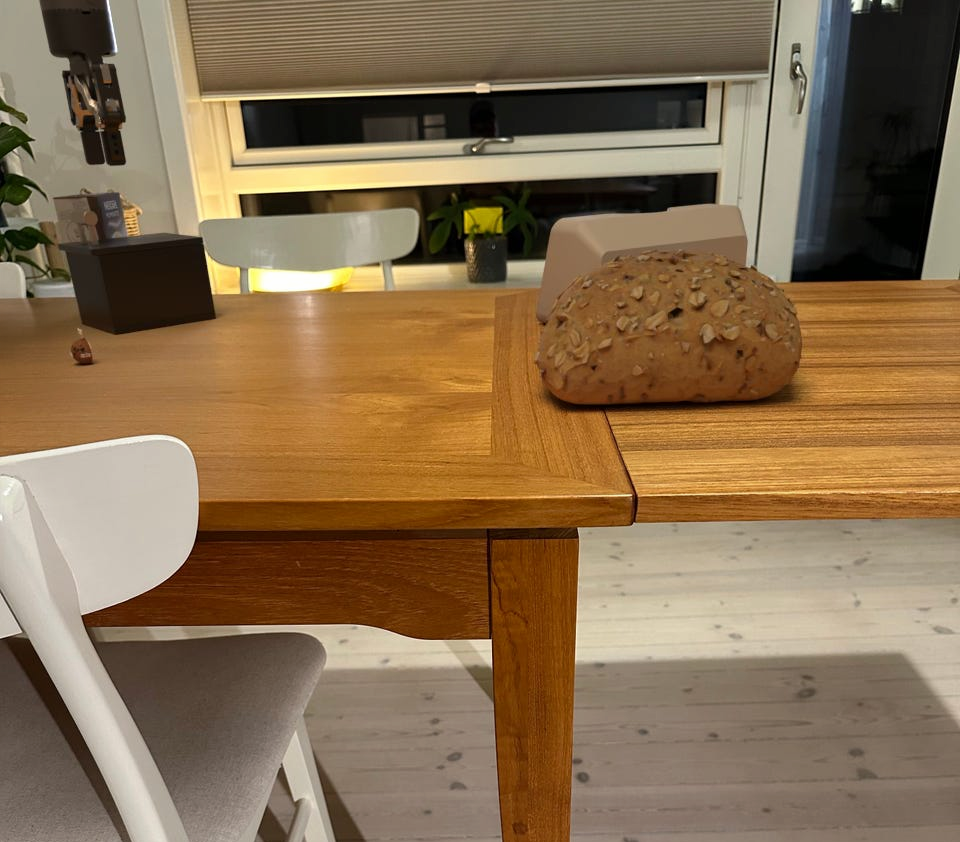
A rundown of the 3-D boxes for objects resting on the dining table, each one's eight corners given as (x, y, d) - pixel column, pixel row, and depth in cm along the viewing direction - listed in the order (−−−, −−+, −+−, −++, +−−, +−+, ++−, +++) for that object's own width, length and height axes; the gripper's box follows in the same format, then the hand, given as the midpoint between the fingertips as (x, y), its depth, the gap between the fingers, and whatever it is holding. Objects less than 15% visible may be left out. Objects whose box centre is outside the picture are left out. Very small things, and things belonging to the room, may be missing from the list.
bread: (756, 354, 101) (767, 232, 95) (819, 407, 82) (838, 259, 77) (526, 364, 101) (524, 242, 96) (537, 419, 83) (535, 272, 77)
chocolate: (70, 363, 112) (61, 328, 110) (90, 360, 113) (81, 325, 111) (76, 367, 109) (67, 331, 107) (96, 364, 110) (88, 328, 109)
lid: (92, 256, 122) (82, 213, 119) (58, 250, 130) (49, 210, 128) (203, 243, 130) (197, 203, 128) (165, 238, 139) (158, 200, 136)
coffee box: (121, 315, 140) (95, 195, 133) (78, 317, 141) (50, 197, 133) (143, 304, 148) (120, 191, 141) (102, 306, 149) (77, 193, 141)
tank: (607, 344, 109) (610, 225, 103) (533, 323, 121) (532, 216, 115) (771, 316, 119) (783, 207, 113) (688, 300, 131) (694, 201, 125)
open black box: (115, 334, 127) (98, 255, 122) (82, 323, 135) (64, 249, 131) (216, 318, 135) (203, 243, 130) (178, 309, 143) (165, 238, 139)
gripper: (27, 14, 113) (60, 166, 121) (58, 0, 103) (92, 167, 111) (91, 16, 117) (119, 163, 125) (127, 2, 107) (155, 164, 114)
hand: (106, 165), depth 118 cm, fingers open, 8 cm apart
